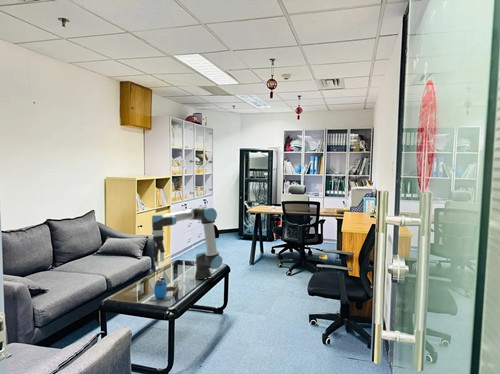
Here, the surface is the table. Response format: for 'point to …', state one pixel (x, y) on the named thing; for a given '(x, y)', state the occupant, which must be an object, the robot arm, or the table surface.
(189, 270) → the table surface
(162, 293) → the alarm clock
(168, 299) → the rubber mat
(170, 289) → the clock stand
